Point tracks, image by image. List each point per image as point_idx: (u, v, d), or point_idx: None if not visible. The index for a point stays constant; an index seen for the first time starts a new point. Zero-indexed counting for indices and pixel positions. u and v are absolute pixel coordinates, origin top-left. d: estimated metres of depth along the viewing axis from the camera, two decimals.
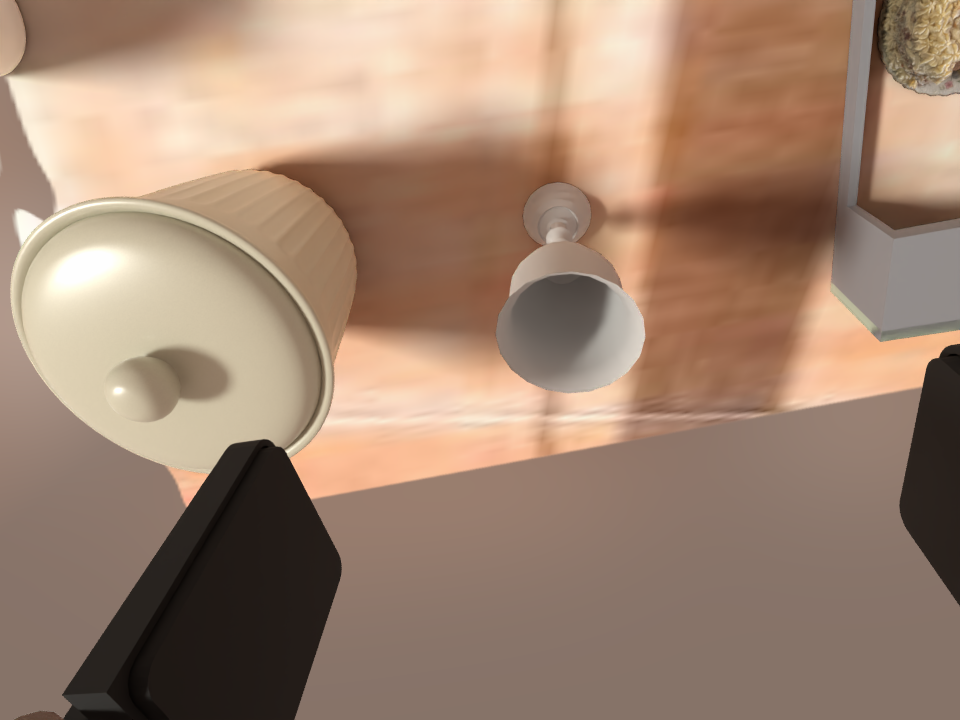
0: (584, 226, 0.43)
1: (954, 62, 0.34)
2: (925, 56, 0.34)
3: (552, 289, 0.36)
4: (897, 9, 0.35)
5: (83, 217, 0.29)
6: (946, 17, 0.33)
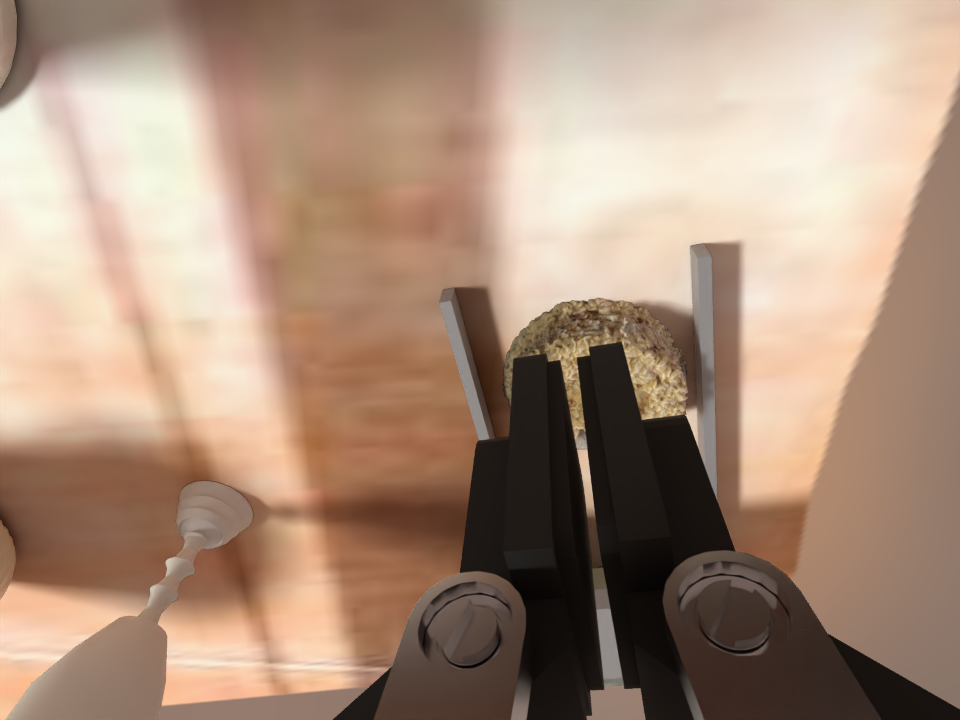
0: (238, 526, 0.39)
1: None
2: None
3: None
4: None
5: None
6: None
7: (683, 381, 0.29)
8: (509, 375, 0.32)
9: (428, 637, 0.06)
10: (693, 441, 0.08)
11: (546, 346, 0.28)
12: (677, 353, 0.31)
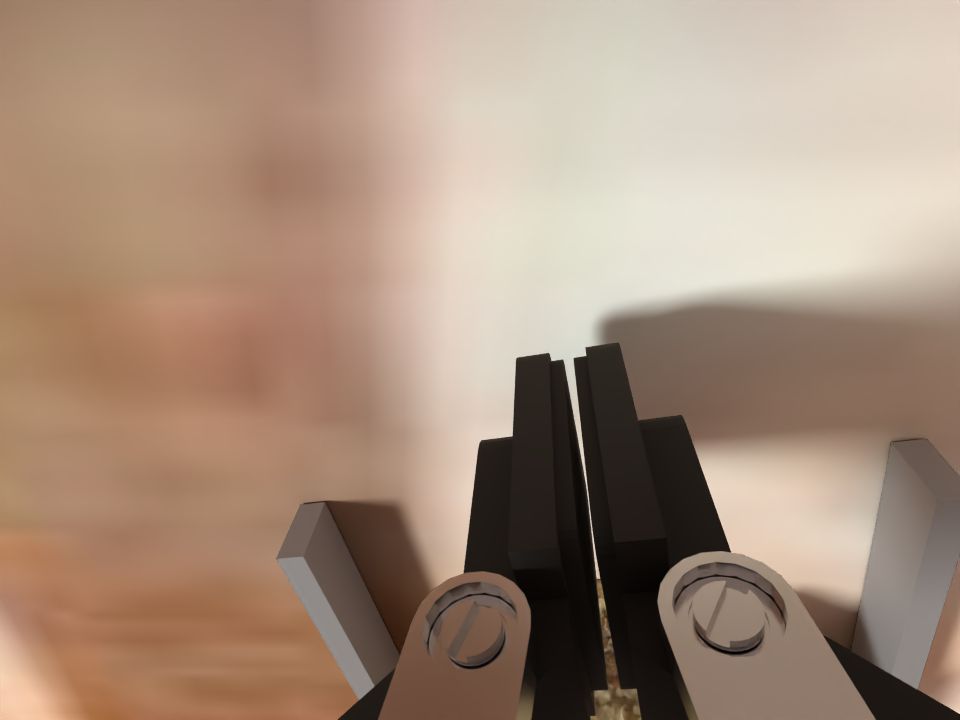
0: None
1: None
2: None
3: None
4: None
5: None
6: None
7: None
8: None
9: (433, 638, 0.06)
10: (689, 442, 0.08)
11: None
12: None
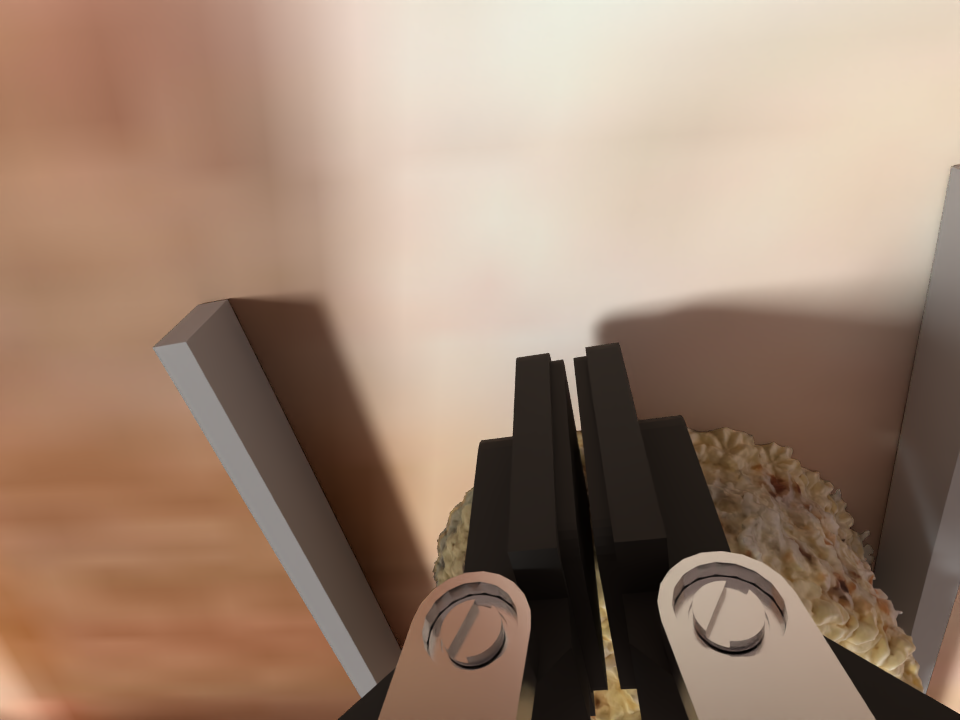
0: None
1: None
2: None
3: None
4: None
5: None
6: None
7: (912, 665, 0.10)
8: None
9: (432, 638, 0.06)
10: (689, 442, 0.08)
11: None
12: (860, 548, 0.12)
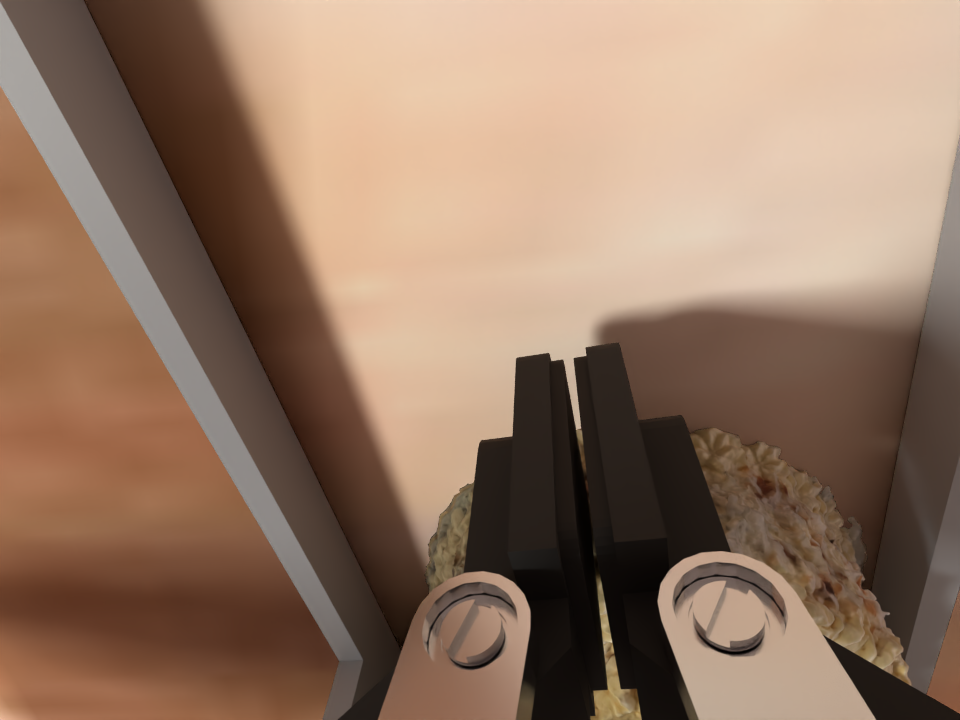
0: None
1: None
2: None
3: None
4: None
5: None
6: None
7: (901, 666, 0.10)
8: None
9: (432, 638, 0.06)
10: (690, 441, 0.08)
11: None
12: (850, 548, 0.12)
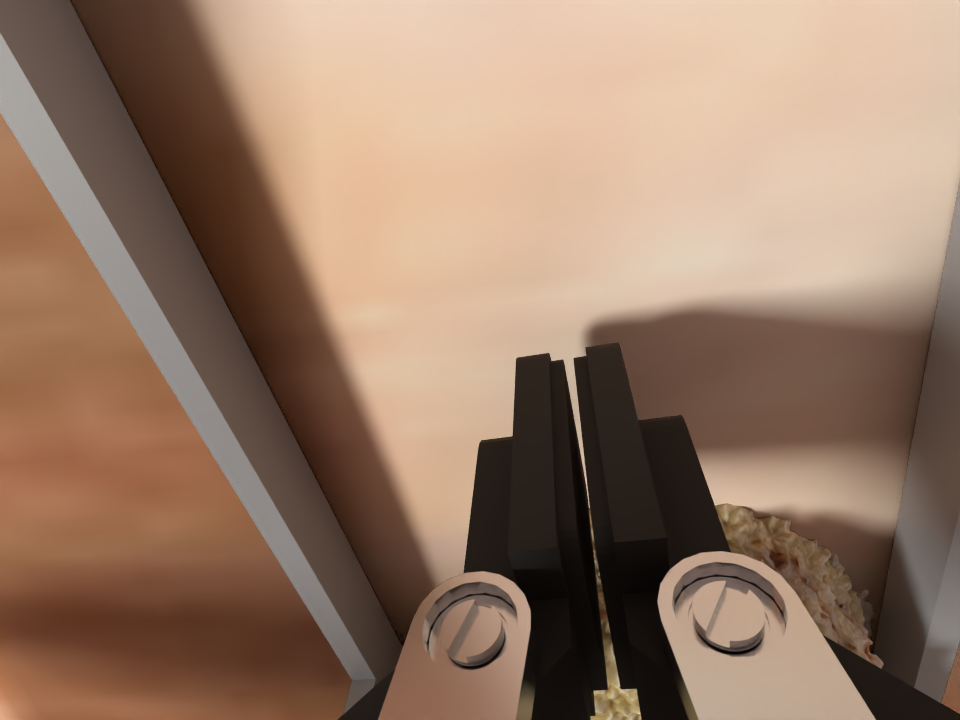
0: None
1: None
2: None
3: None
4: None
5: None
6: None
7: None
8: None
9: (433, 638, 0.06)
10: (689, 442, 0.08)
11: None
12: (859, 608, 0.13)
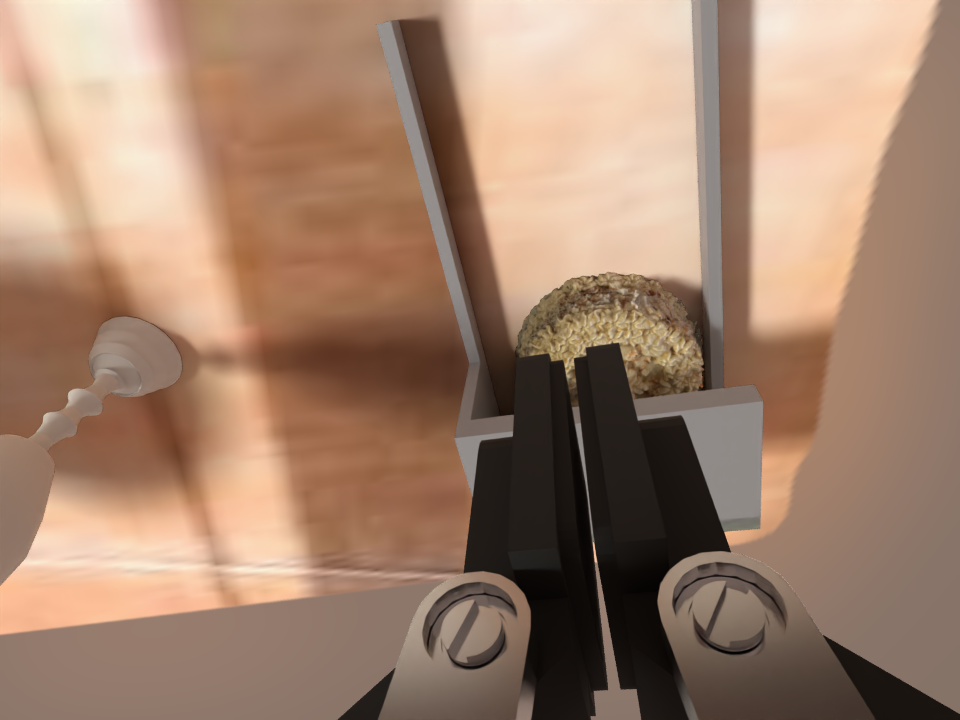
0: (162, 371, 0.34)
1: None
2: None
3: None
4: None
5: None
6: None
7: (698, 352, 0.28)
8: (521, 355, 0.31)
9: (432, 637, 0.06)
10: (689, 442, 0.08)
11: (556, 322, 0.28)
12: (692, 326, 0.30)
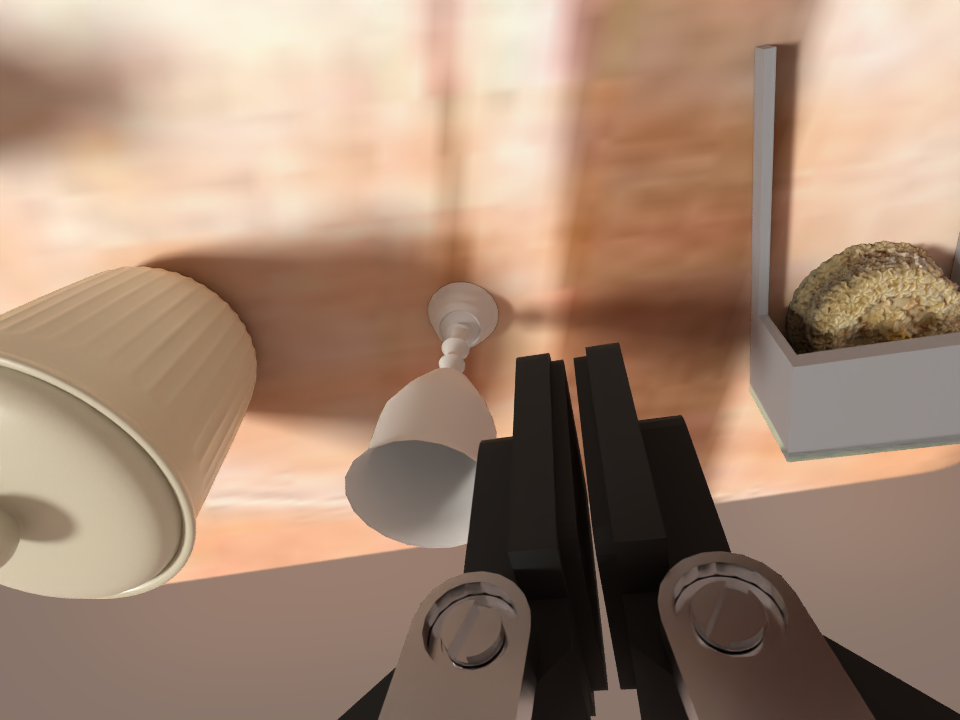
0: (489, 327, 0.41)
1: None
2: None
3: None
4: (800, 316, 0.39)
5: None
6: (838, 339, 0.37)
7: None
8: (799, 308, 0.39)
9: (432, 637, 0.06)
10: (689, 442, 0.08)
11: (852, 278, 0.36)
12: None
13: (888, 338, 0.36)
